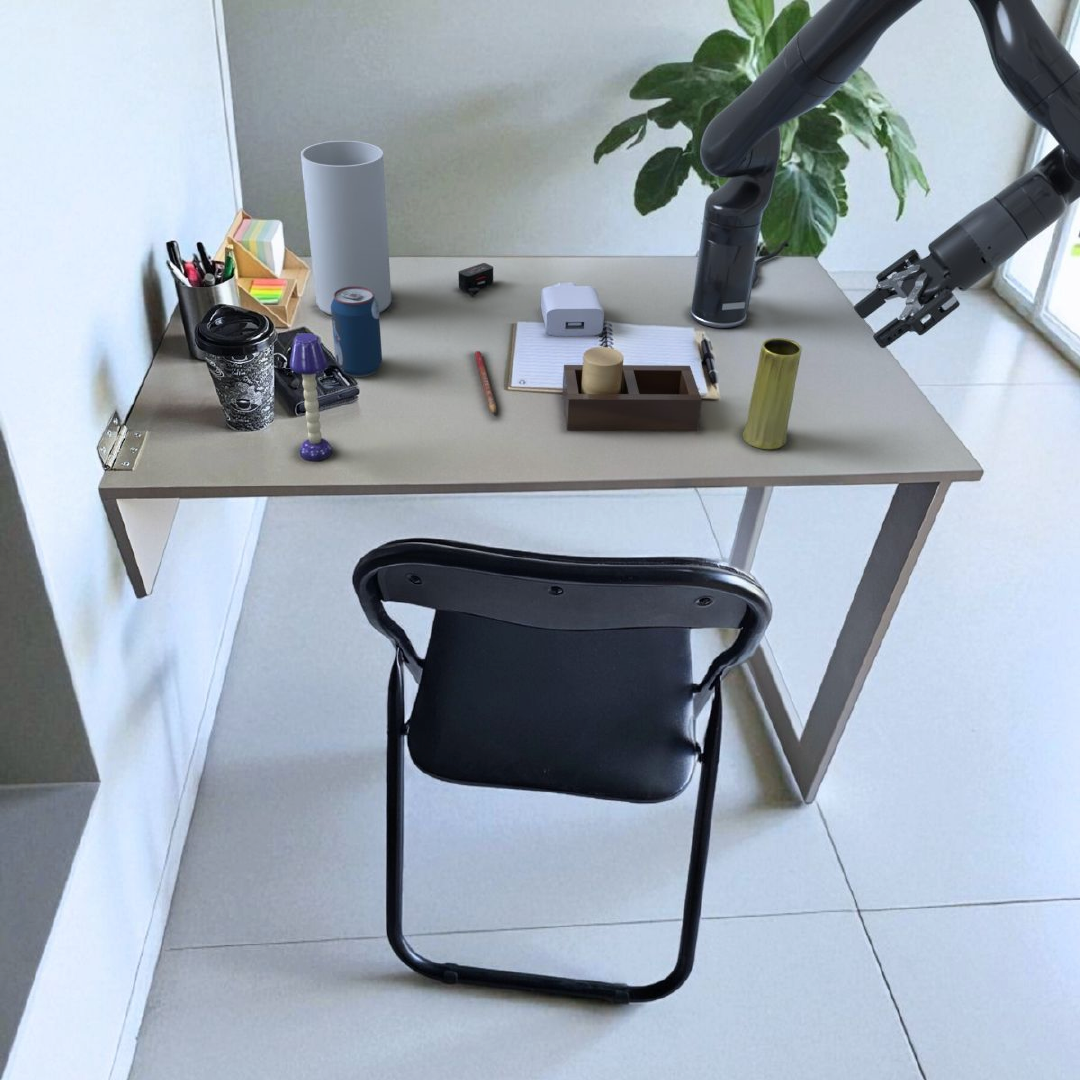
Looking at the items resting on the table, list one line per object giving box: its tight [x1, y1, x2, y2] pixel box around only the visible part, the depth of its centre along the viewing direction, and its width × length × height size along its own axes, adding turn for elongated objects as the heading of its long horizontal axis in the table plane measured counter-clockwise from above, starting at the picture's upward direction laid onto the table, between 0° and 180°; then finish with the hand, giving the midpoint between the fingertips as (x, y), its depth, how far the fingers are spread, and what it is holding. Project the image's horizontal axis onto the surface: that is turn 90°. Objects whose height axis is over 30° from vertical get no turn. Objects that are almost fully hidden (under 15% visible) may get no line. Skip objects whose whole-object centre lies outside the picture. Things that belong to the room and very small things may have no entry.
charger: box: [540, 282, 605, 337], centre depth 174 cm, size 5×9×15 cm
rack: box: [561, 364, 703, 432], centre depth 149 cm, size 10×18×5 cm, turn 93°
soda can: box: [330, 286, 383, 378], centre depth 155 cm, size 7×7×12 cm
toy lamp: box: [289, 333, 333, 462], centre depth 135 cm, size 5×5×17 cm
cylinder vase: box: [300, 140, 392, 316], centre depth 168 cm, size 12×12×25 cm
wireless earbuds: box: [457, 262, 494, 297], centre depth 181 cm, size 5×7×3 cm, turn 134°
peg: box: [581, 346, 625, 394], centre depth 148 cm, size 6×6×9 cm
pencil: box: [474, 350, 497, 417], centre depth 155 cm, size 19×1×1 cm, turn 10°
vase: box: [742, 337, 803, 451], centre depth 142 cm, size 6×6×14 cm
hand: (867, 327), depth 137 cm, fingers open, 8 cm apart
